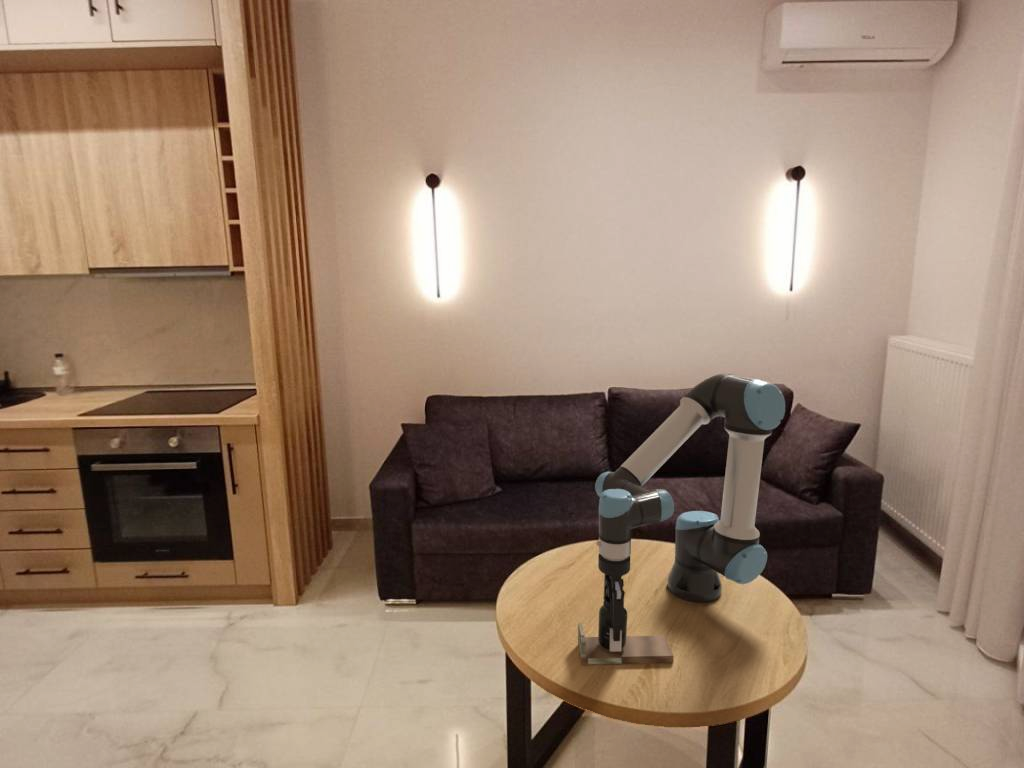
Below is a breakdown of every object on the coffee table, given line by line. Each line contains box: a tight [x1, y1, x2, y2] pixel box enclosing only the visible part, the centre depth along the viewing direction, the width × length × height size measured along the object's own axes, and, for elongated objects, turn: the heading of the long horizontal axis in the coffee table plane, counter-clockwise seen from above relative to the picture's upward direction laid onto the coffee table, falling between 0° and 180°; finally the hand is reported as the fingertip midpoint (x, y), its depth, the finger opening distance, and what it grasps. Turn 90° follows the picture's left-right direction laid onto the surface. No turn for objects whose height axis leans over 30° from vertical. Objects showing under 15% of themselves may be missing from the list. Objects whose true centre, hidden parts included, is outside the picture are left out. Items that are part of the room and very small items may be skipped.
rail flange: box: [577, 622, 674, 666], centre depth 150 cm, size 22×8×6 cm, turn 90°
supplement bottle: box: [597, 594, 628, 650], centre depth 149 cm, size 7×7×12 cm
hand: (612, 640), depth 150 cm, fingers closed on supplement bottle, 7 cm apart
